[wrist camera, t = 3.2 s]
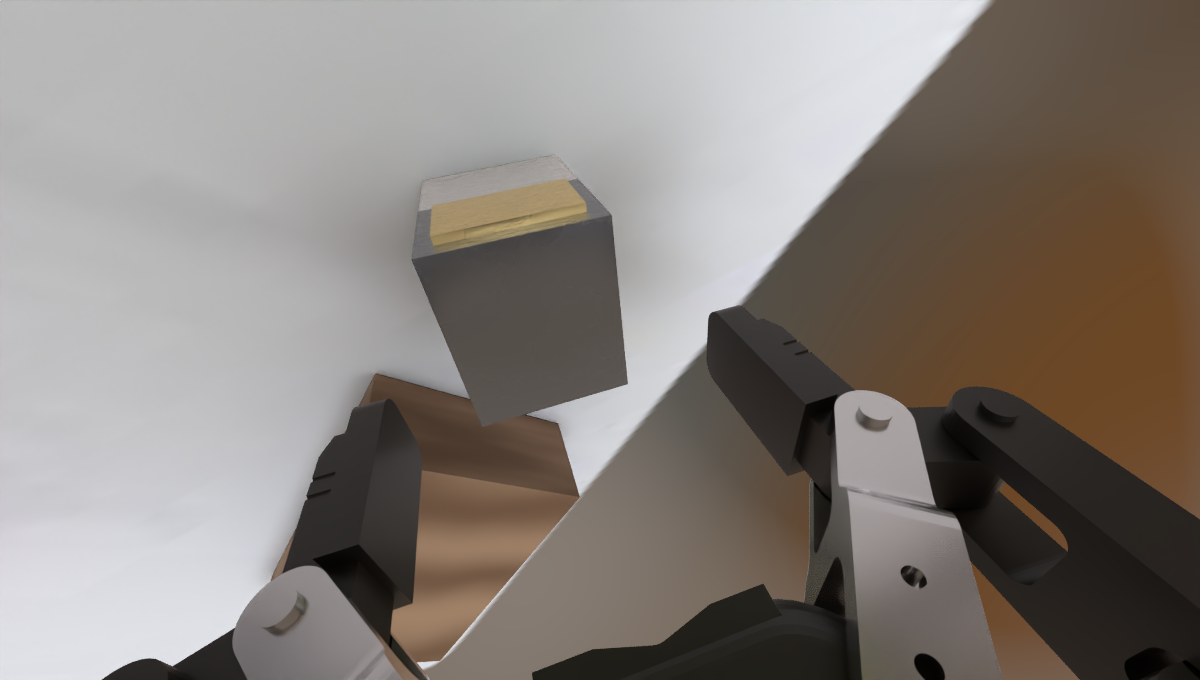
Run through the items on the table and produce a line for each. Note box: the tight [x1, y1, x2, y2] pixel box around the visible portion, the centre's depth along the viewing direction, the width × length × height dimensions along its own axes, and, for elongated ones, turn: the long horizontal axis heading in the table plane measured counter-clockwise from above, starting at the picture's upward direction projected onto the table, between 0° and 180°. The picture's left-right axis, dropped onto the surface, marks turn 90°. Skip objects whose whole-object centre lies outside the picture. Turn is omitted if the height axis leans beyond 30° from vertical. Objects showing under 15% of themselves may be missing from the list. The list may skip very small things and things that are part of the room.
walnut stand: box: [271, 374, 580, 662], centre depth 23 cm, size 16×10×5 cm, turn 145°
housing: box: [412, 155, 628, 427], centre depth 15 cm, size 5×6×7 cm
